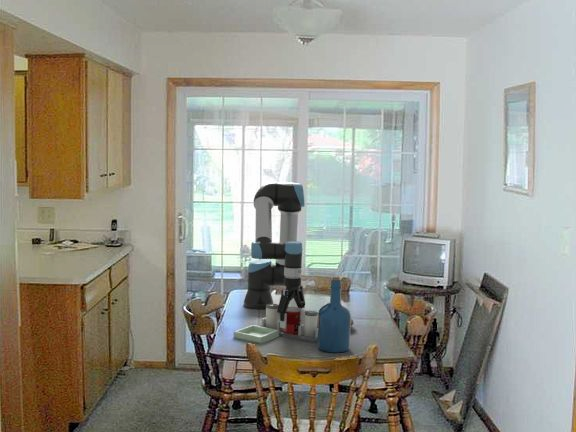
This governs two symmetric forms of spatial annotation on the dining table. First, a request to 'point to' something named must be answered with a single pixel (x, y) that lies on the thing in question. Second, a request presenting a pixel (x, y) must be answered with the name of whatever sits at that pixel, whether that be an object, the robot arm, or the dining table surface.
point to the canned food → (292, 321)
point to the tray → (256, 334)
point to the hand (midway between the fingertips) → (291, 325)
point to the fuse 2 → (310, 323)
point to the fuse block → (299, 336)
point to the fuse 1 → (271, 316)
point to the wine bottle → (334, 322)
